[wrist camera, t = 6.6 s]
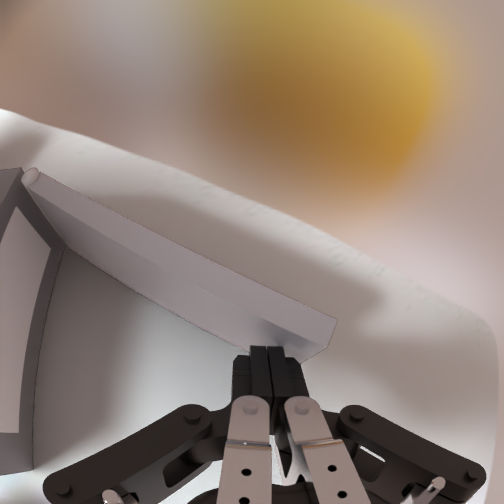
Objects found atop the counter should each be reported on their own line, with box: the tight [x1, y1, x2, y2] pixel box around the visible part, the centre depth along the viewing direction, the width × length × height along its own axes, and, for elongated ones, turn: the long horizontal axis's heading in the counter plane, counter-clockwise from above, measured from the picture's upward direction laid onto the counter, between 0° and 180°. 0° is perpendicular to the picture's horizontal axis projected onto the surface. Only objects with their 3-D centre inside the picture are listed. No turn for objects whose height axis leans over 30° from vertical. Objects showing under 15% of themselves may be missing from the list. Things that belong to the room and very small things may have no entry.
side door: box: [21, 168, 337, 364], centre depth 15 cm, size 18×1×8 cm, turn 64°
